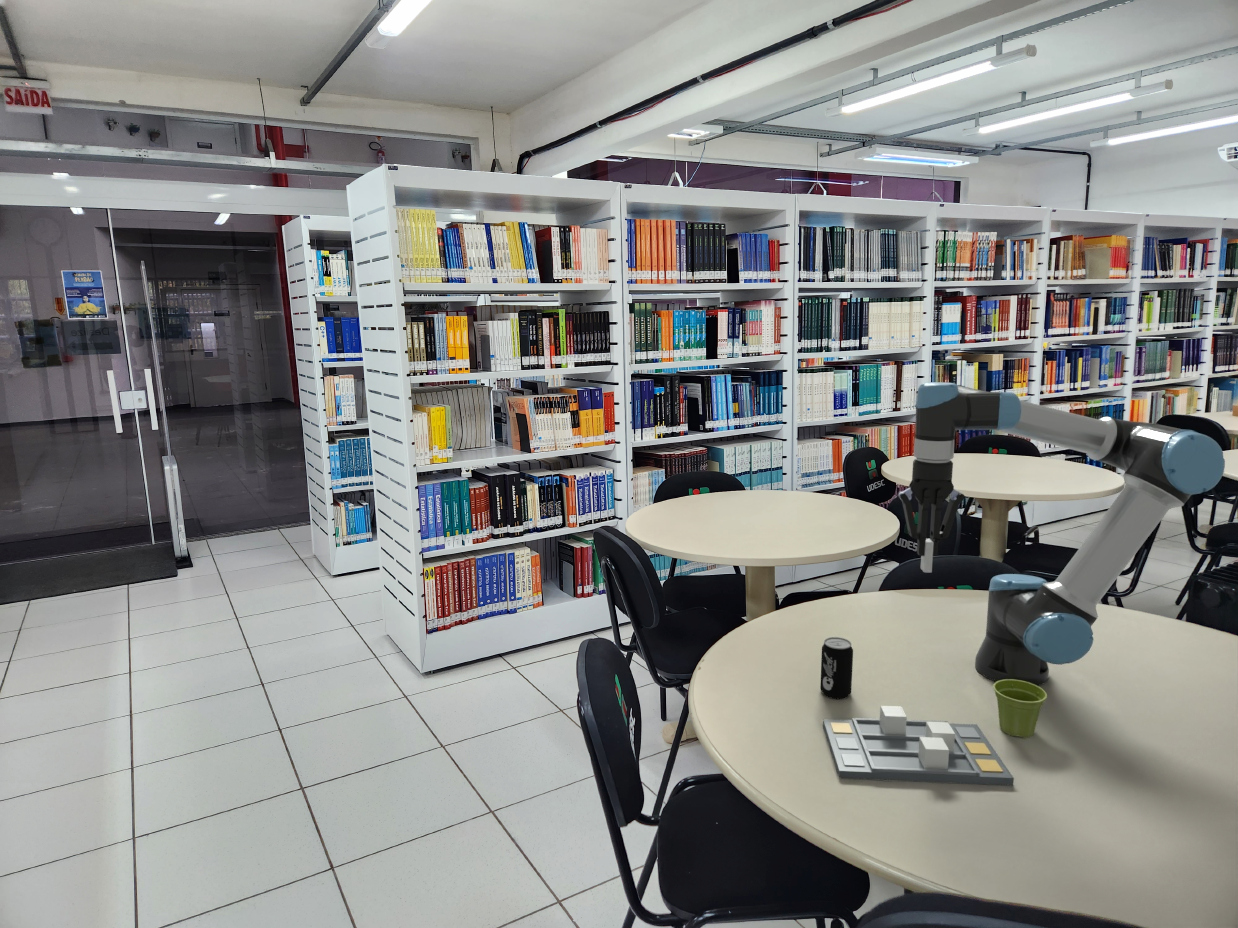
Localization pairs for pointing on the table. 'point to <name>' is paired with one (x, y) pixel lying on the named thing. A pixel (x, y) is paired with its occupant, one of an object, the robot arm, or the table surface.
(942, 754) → the white cube
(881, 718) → the white cube
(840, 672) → the beverage can
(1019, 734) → the plant pot
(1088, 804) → the table surface
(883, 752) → the switch bank
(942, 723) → the white cube
